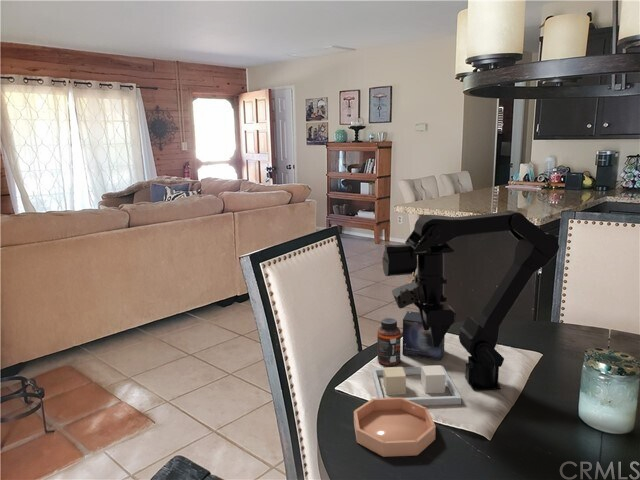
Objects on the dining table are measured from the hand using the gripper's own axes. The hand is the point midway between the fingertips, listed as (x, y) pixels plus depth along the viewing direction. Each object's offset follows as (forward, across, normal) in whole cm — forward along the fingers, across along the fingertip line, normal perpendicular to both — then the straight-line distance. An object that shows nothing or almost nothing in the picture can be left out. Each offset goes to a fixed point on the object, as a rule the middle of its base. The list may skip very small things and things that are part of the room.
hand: (430, 338), depth 108 cm
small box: (+13, -18, +2) cm, 22 cm away
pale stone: (+12, 0, 0) cm, 13 cm away
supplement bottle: (+12, -14, -8) cm, 20 cm away
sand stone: (+12, 0, -9) cm, 15 cm away
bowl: (+12, +16, -12) cm, 23 cm away
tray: (+12, 0, -4) cm, 13 cm away
